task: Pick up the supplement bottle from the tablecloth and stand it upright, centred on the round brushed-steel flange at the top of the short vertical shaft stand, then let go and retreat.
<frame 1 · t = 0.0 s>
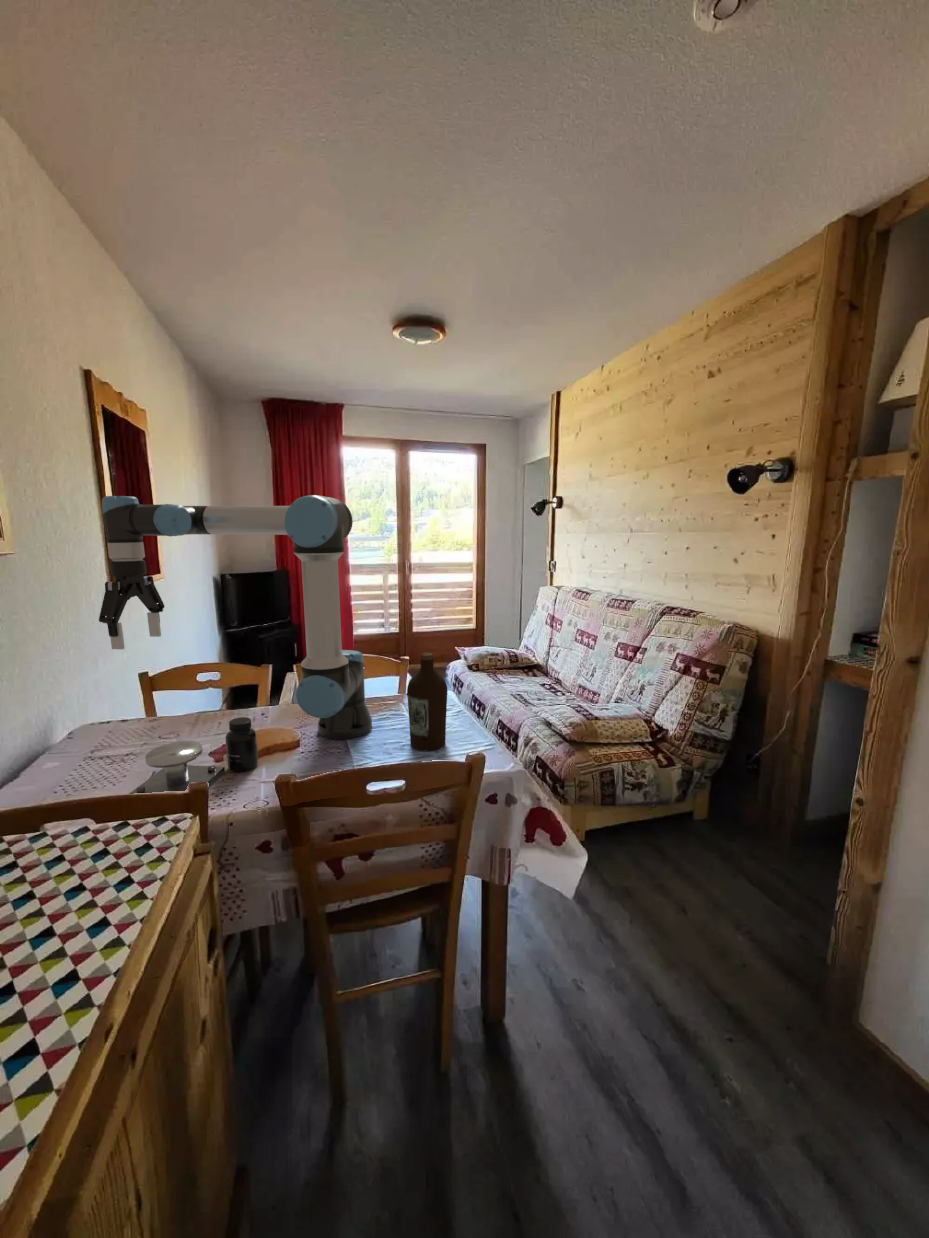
hand: (137, 642, 130), 28 cm above the table, fingers open, 13 cm apart
supplement bottle: (243, 767, 123), on the table
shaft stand: (178, 786, 113), on the table
olive oil: (427, 744, 135), on the table
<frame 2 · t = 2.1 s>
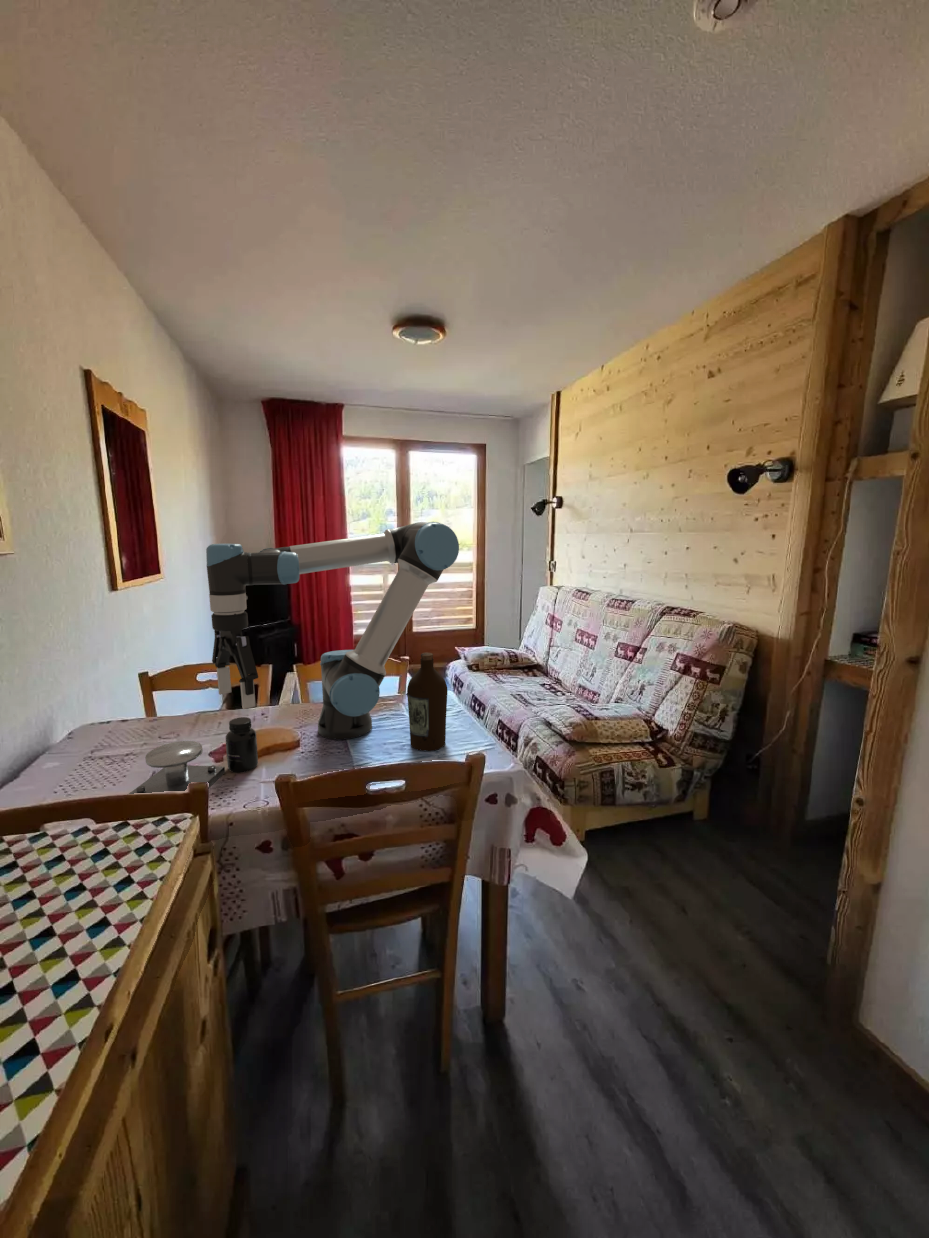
hand: (236, 700, 119), 17 cm above the table, fingers open, 13 cm apart
nothing on the table moved.
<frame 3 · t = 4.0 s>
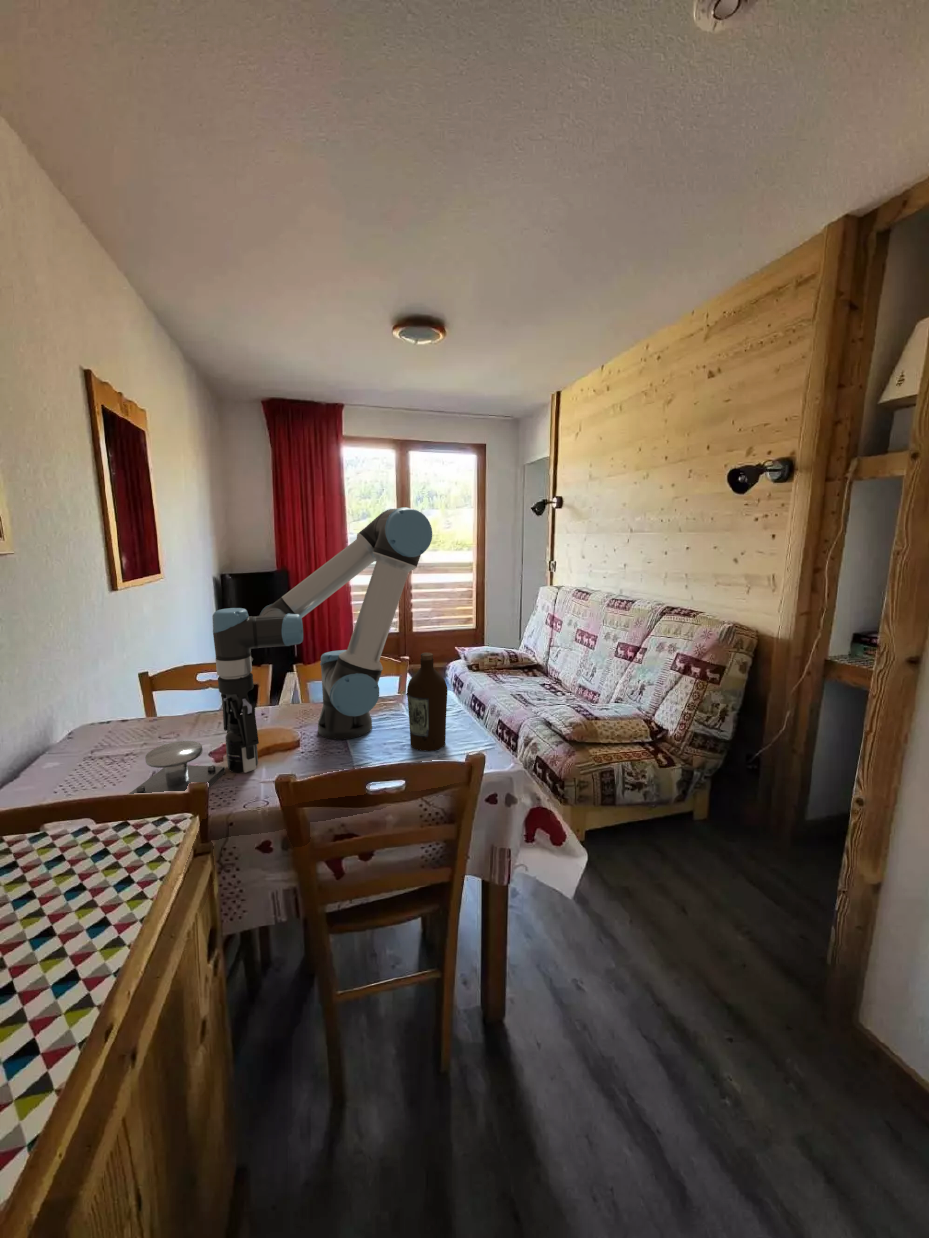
hand: (243, 764, 122), 1 cm above the table, fingers closed on supplement bottle, 7 cm apart
supplement bottle: (243, 767, 123), on the table, touching gripper
everything else where it was.
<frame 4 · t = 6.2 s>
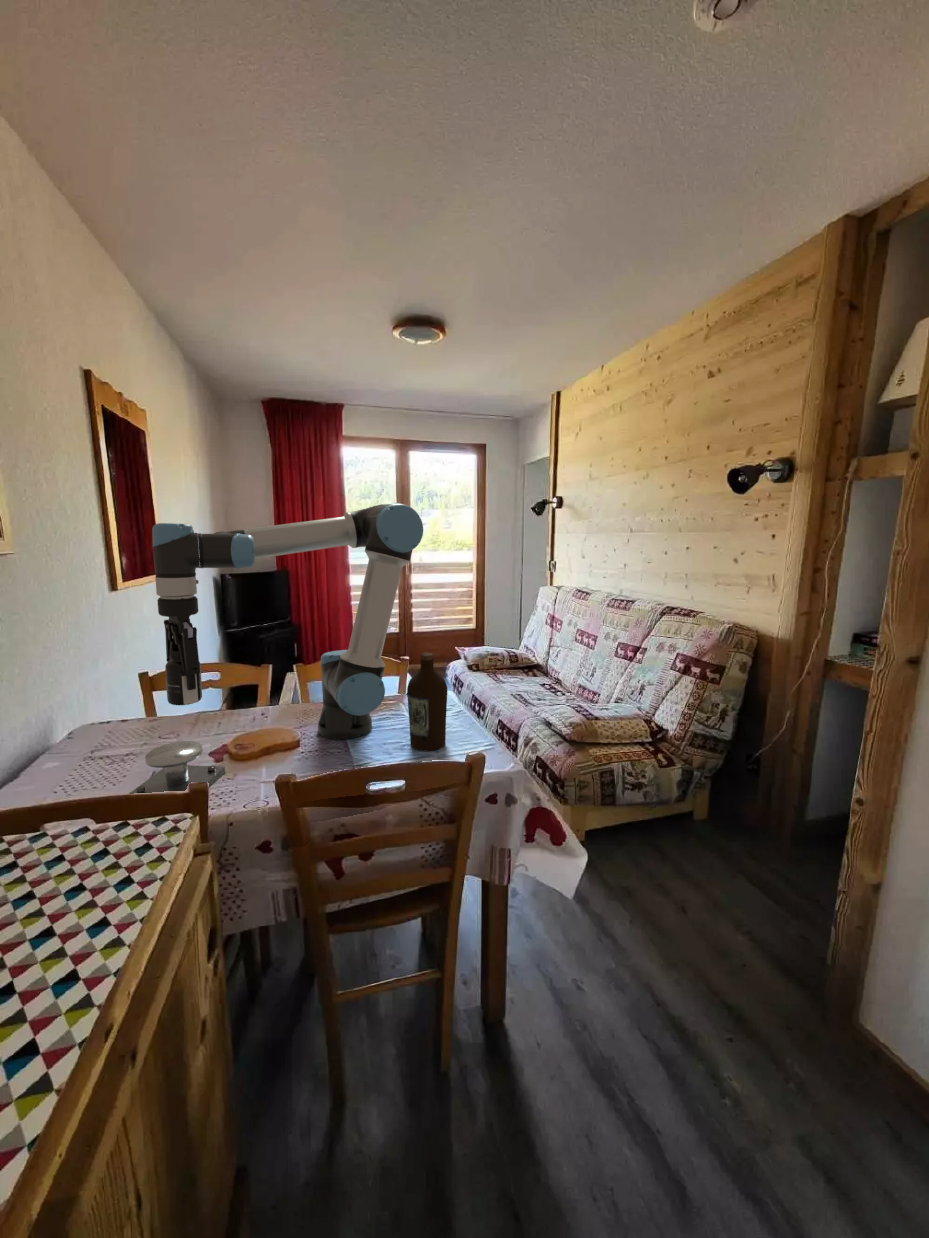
hand: (185, 698, 112), 20 cm above the table, fingers closed on supplement bottle, 7 cm apart
supplement bottle: (185, 701, 112), point 19 cm above the table, touching gripper
everything else where it was.
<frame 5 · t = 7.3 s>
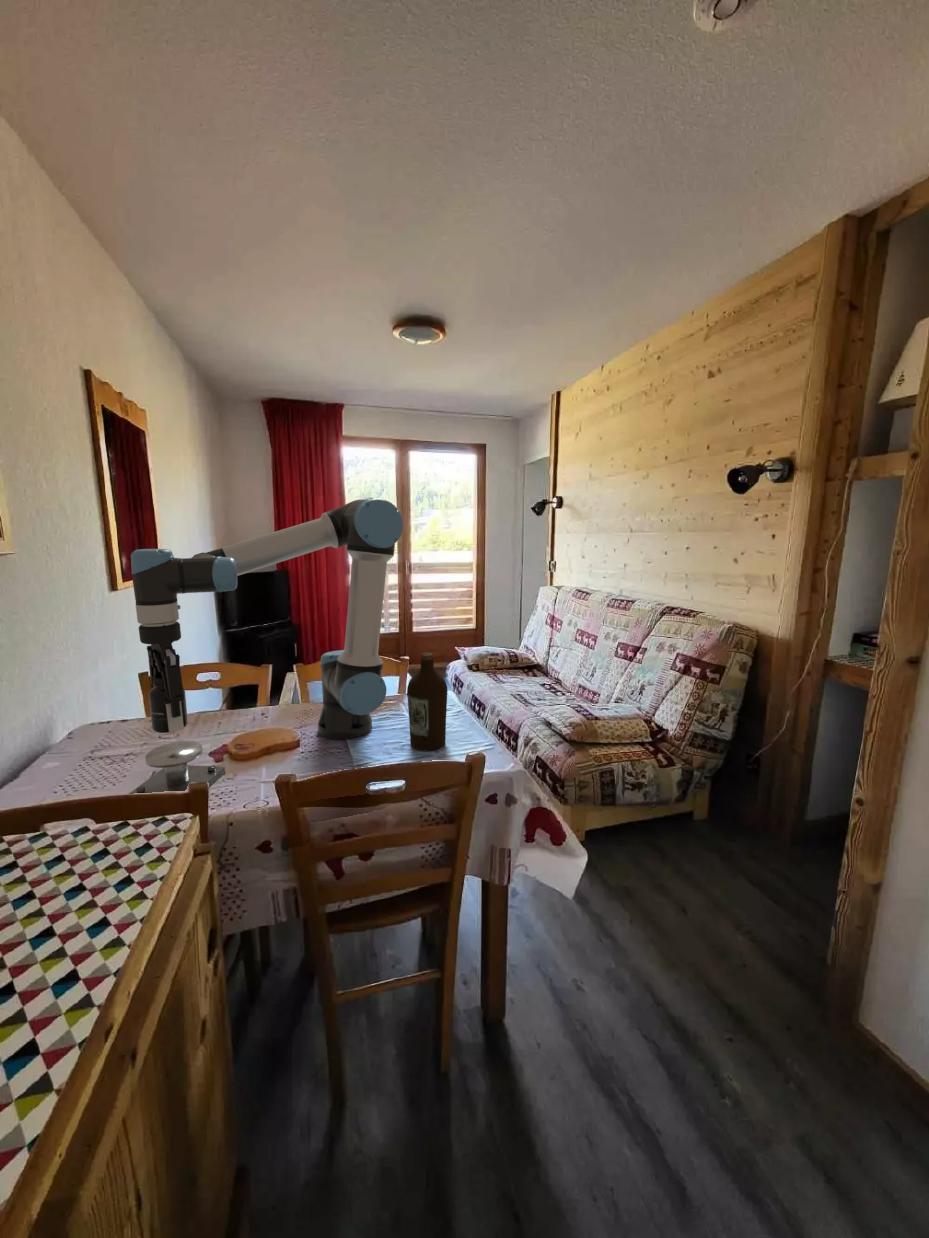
hand: (170, 725, 110), 15 cm above the table, fingers closed on supplement bottle, 7 cm apart
supplement bottle: (170, 728, 111), point 14 cm above the table, touching gripper
everything else where it was.
when the fingers open (10 cm above the table, at t = 8.4 s): supplement bottle drops 1 cm, resting on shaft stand.
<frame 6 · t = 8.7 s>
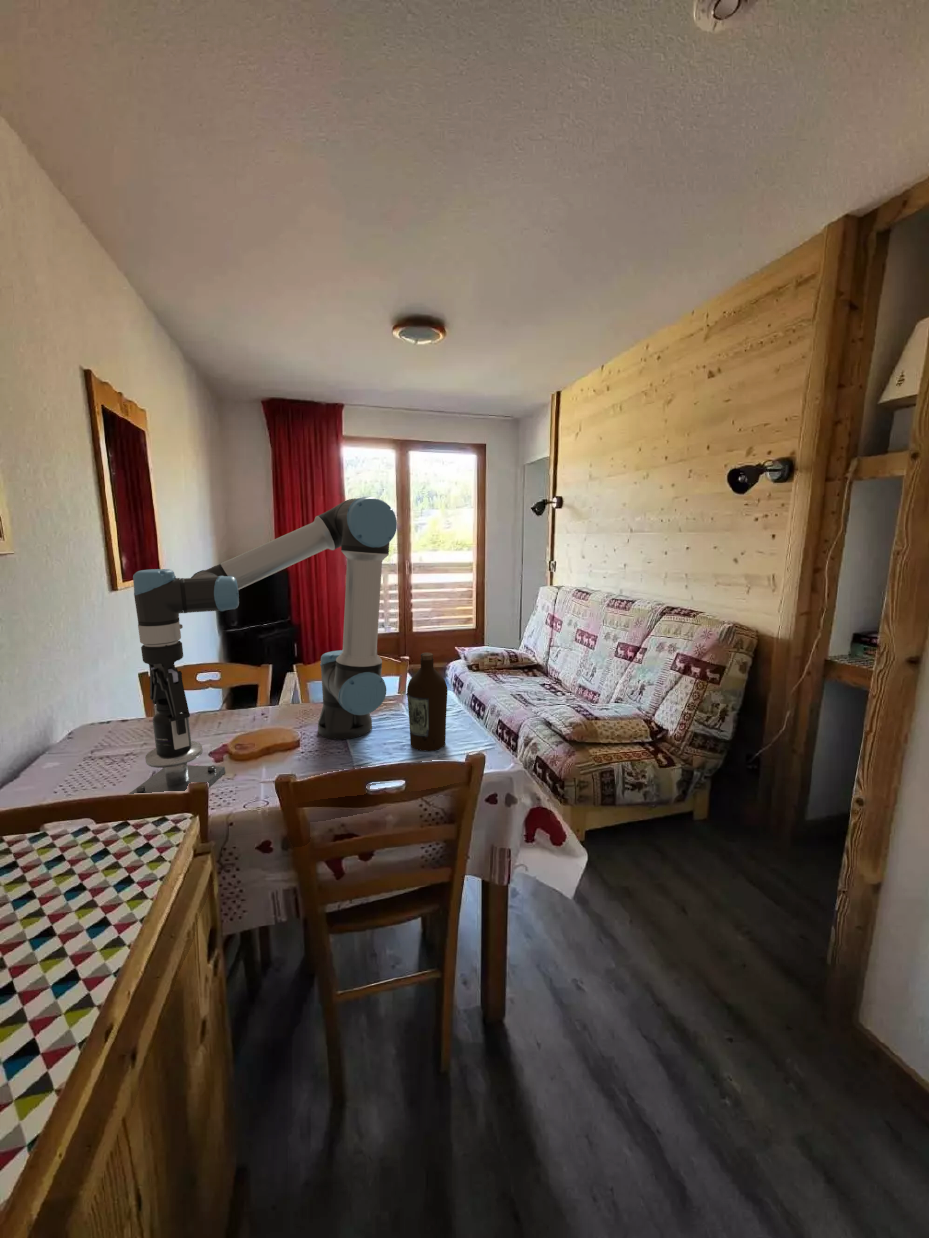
hand: (173, 739, 111), 11 cm above the table, fingers open, 11 cm apart
supplement bottle: (175, 752, 112), point 8 cm above the table, touching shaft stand
everything else where it was.
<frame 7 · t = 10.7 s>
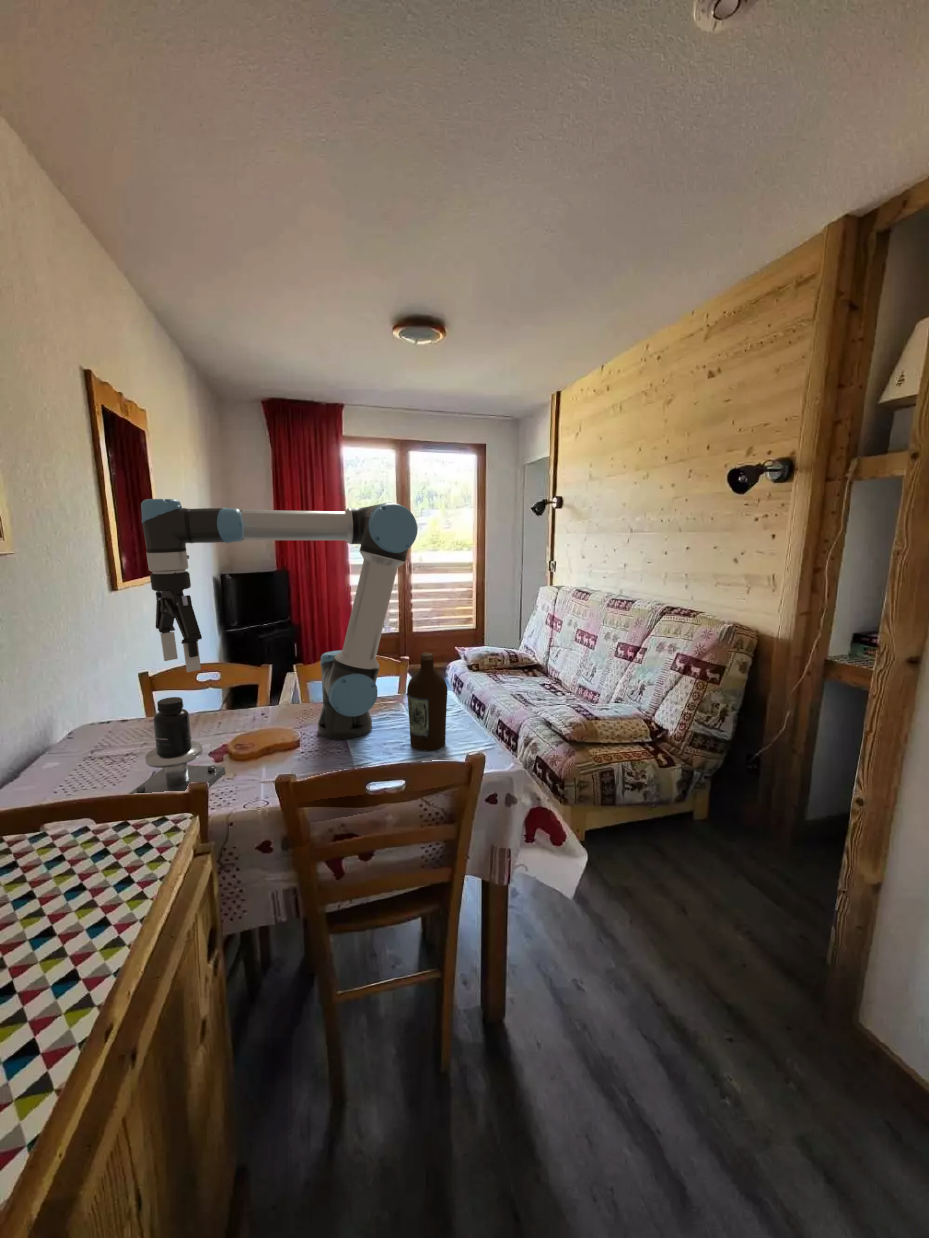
hand: (182, 665, 114), 27 cm above the table, fingers open, 13 cm apart
nothing on the table moved.
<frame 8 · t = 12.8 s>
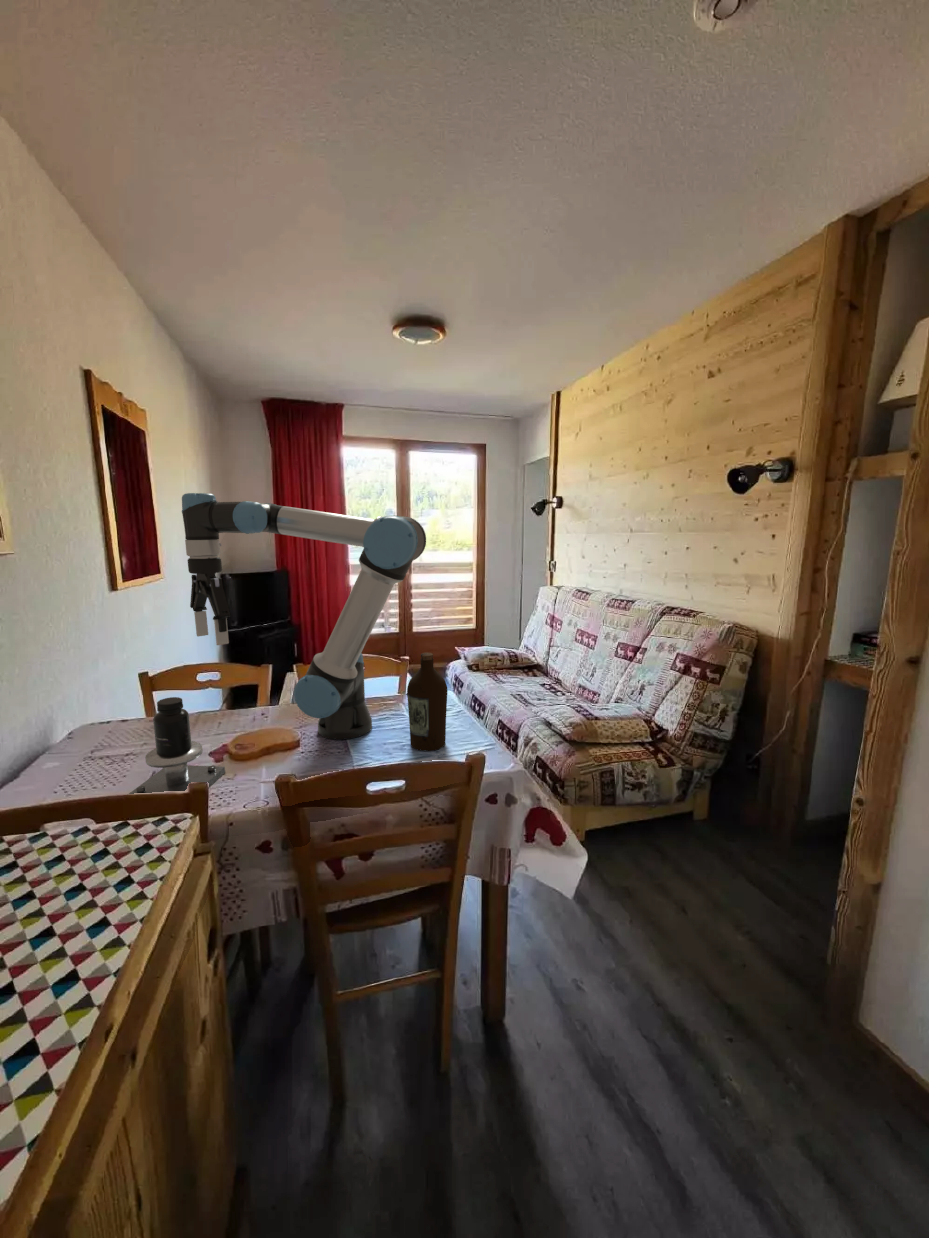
hand: (212, 639, 129), 29 cm above the table, fingers open, 13 cm apart
nothing on the table moved.
at the end: supplement bottle 0.2 cm off-centre on the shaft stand, point 8.3 cm above the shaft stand's base; supplement bottle tilted 0°; the gripper is holding nothing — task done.
